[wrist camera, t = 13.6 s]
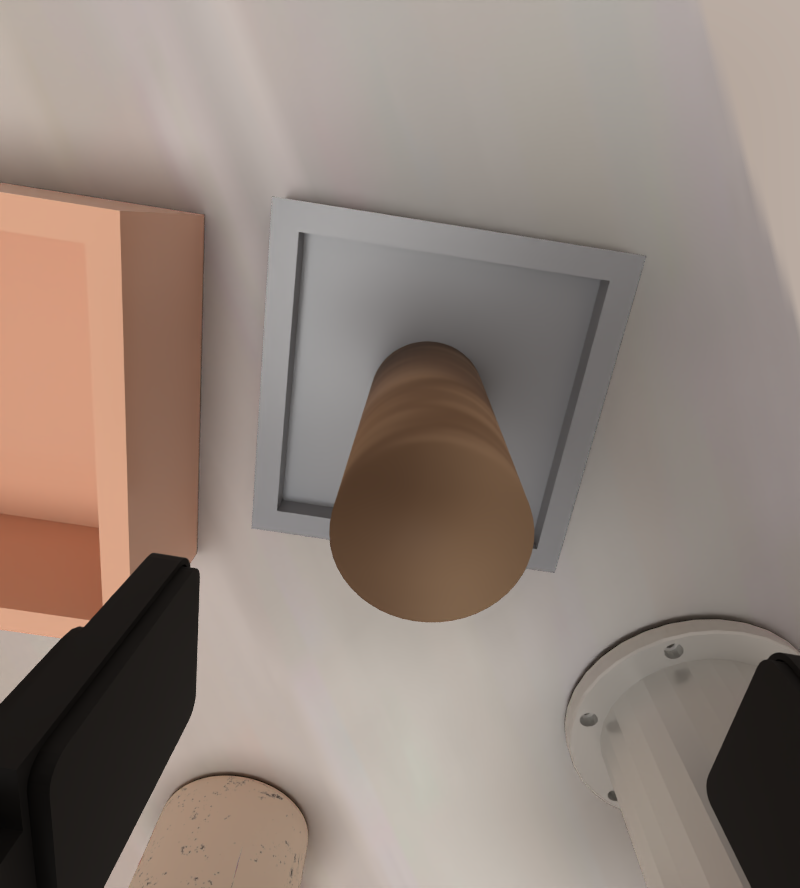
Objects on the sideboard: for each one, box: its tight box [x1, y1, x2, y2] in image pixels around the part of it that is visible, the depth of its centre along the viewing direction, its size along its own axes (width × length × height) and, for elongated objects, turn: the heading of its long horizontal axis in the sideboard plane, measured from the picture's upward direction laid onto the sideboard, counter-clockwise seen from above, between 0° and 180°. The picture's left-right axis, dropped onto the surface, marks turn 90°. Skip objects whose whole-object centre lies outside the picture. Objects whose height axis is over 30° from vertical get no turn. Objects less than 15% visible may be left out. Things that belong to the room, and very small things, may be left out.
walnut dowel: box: [329, 341, 534, 622], centre depth 18 cm, size 4×4×11 cm
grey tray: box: [252, 196, 646, 573], centre depth 23 cm, size 13×13×2 cm
